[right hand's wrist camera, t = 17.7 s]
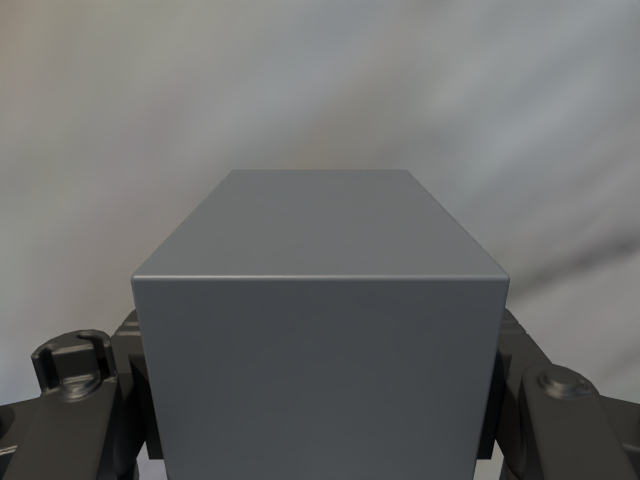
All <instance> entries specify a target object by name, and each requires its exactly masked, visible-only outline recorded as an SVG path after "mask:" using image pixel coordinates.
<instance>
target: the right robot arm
mask: <svg viewBox="0 0 640 480" xmlns="http://www.w3.org/2000/svg"><path fill="white" fill-rule="evenodd" d="M31 359H32V362H33V365H34V369H35V372H36V375H37V378H38V382H39V385H40V388H41V391H42V393H41V395H40V397H38V398H34V399H30V400H26V401H21V402H16V403H12V404H7V405H2V406H0V480H139V470H138V464H137V459H136V458H137V456H138V454H139V452H140V450H141V448H142V446H143V444H144V442H145V441H146V446H147V451H148V456H149V459H164V457H163V452H162V446H161V441H160V436H159V430H158V425H157V419H156V414H155V409H154V403H153V398H152V392H151V387H150V382H149V376H148V371H147V366H146V360H145V355H144V349H143V344H142V339H141V333H140V328H139V322H138V317H137V312H136V309H135V310H134V311H132V312H131V313H130V314H129V316H128V317H127V318H126V319H125V320H124V322H123V323H122V326H120V327H119V328H118V329H117V330H116V332H115V333H114V335H112V337H111V338H110V336H109V335H107V334H106V333H105V332H103V331H98V330H93V329H92V330H78V331H74V332H70V333H65V334H63V335H60V336H58V337H55V338H53V339H51V340H49V341H47V342H46V343H44V344H43V345H41V346H40V347H38V348H37V349H36V350H35V352H34V353H33V354H32V355H31ZM495 439H496V441H497V443H498V445H499V447H500V449H501V451H502V453H503V455H504V459H503V464H502V469H501V473H500V478H499V480H640V404H637V403H633V402H628V401H623V400H618V399H614V398H609V397H605V396H602V395H600V394H599V392H598V391H597V389H596V388H595V387H594V385H593V384H592V383H591V382H590V381H589V380H587V379H586V378H585V377H583V376H582V375H581V374H579V373H577V372H575V371H573V370H571V369H568V368H566V367H563V366H559V365H555V364H552V363H551V361H550V360H549V359H548V358H547V356H546V355H545V354H544V353H543V352H542V350H541V349H540V348H539V347H538V345H537V344H536V343H535V342H534V341H533V339H532V338H531V337H530V336H529V334H526V331H525V329H524V328H523V327H522V326H521V325H520V324H518V321H517V320H516V318H515V317H514V316H513V315H512V314H511V312H510V311H509V310H507V309H506V308H505V309H504V315H503V320H502V325H501V331H500V336H499V342H498V347H497V353H496V358H495V363H494V369H493V374H492V380H491V385H490V390H489V396H488V401H487V407H486V412H485V418H484V423H483V428H482V434H481V439H480V445H479V450H478V455H477V459H491V457H492V452H493V448H494V443H495Z"/></svg>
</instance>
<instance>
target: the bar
mask: <svg viewBox="0 0 640 480" xmlns="http://www.w3.org/2000/svg"><path fill="white" fill-rule="evenodd" d="M509 282H510V278H509V275H508V274H507V273H506V272H505V271H504V270H503V268H502V267H501V266H500V265H499V264H498V263H497V262H496V261H495V260H494V259H493V258H492V257H491V256H490V255H489V254H488V253H487V252H486V251H485V250H484V249H483V248H482V247H481V246H480V245H479V244H478V243H477V242H476V241H475V240H474V239H473V238H472V237H471V236H470V235H469V233H468V232H467V231H466V230H465V229H464V228H463V227H462V226H461V225H460V224H459V223H458V222H457V221H456V220H455V219H454V218H453V217H452V216H451V215H450V214H449V213H448V212H447V211H446V210H445V209H444V208H443V207H442V206H441V205H440V204H439V203H438V202H437V201H436V199H435V198H434V197H433V196H432V195H431V194H430V193H429V192H428V191H427V190H426V189H425V188H424V187H423V186H422V185H421V184H420V183H419V182H418V181H417V180H416V179H415V178H414V177H413V176H412V175H411V174H410V173H409V172H408V171H407V170H233V171H232V172H231V173H230V174H229V175H228V176H227V177H226V178H225V179H224V180H223V181H222V182H221V183H220V184H219V185H218V186H217V187H216V188H215V189H214V190H213V191H212V192H211V193H210V194H209V196H208V197H207V198H206V199H205V200H204V201H203V202H202V203H201V204H200V205H199V206H198V207H197V208H196V209H195V210H194V211H193V212H192V213H191V214H190V215H189V216H188V217H187V218H186V219H185V221H184V222H183V223H182V224H181V225H180V226H179V227H178V228H177V229H176V230H175V231H174V232H173V233H172V234H171V235H170V236H169V237H168V238H167V239H166V240H165V241H164V242H163V243H162V244H161V246H160V247H159V248H158V249H157V250H156V251H155V252H154V253H153V254H152V255H151V256H150V257H149V258H148V259H147V260H146V261H145V262H144V263H143V264H142V265H141V266H140V267H139V268H138V269H137V271H136V272H135V273H134V274H133V275H132V277H131V285H132V290H133V296H134V301H135V306H136V312H137V317H138V322H139V328H140V333H141V339H142V344H143V349H144V355H145V360H146V366H147V371H148V376H149V382H150V387H151V392H152V398H153V403H154V409H155V414H156V419H157V425H158V430H159V436H160V441H161V446H162V452H163V457H164V462H165V468H166V473H167V479H168V480H473V477H474V472H475V466H476V461H477V455H478V450H479V445H480V439H481V434H482V428H483V423H484V418H485V412H486V407H487V401H488V396H489V390H490V385H491V380H492V374H493V369H494V363H495V358H496V353H497V347H498V342H499V336H500V331H501V325H502V320H503V315H504V309H505V304H506V298H507V293H508V288H509Z"/></svg>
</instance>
